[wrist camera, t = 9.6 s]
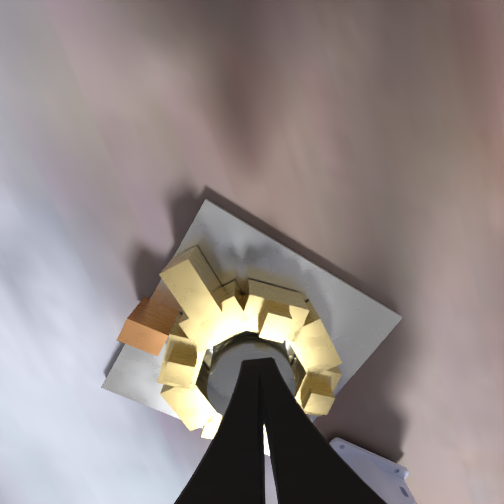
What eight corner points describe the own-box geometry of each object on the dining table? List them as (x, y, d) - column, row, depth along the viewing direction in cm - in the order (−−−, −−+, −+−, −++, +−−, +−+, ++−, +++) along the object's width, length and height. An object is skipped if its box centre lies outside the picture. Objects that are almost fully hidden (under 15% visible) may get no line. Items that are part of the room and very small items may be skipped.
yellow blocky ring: (355, 390, 22) (376, 429, 18) (229, 445, 23) (227, 491, 20) (264, 209, 17) (270, 217, 14) (109, 291, 18) (79, 317, 15)
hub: (396, 312, 21) (437, 347, 17) (279, 450, 25) (287, 508, 21) (201, 194, 17) (188, 200, 13) (101, 377, 21) (66, 428, 17)
